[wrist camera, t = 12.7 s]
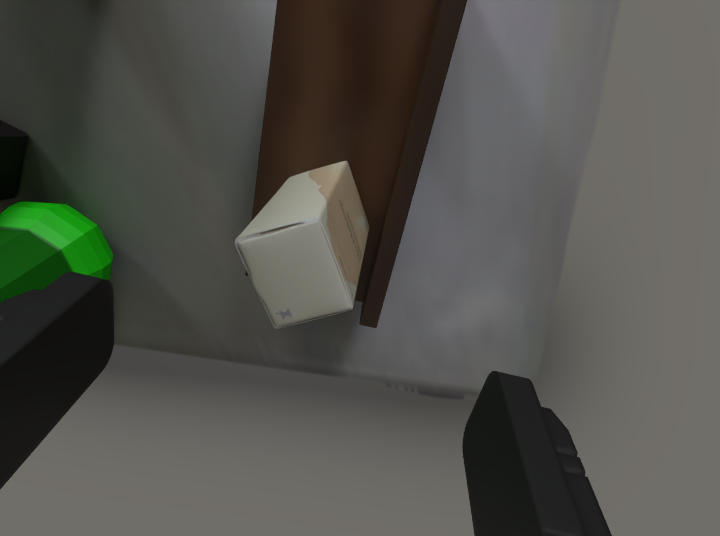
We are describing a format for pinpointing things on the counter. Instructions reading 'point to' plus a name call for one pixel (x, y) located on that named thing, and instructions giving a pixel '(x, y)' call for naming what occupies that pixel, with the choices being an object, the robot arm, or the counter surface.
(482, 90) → the counter surface
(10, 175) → the phone stand
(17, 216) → the plastic bottle
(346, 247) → the box
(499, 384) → the robot arm
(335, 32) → the shelf
